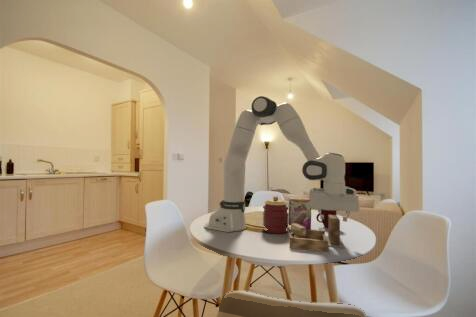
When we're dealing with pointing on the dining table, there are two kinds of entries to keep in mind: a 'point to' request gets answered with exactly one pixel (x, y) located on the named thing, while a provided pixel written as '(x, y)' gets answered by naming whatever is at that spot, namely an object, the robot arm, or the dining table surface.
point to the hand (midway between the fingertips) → (333, 220)
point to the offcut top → (298, 229)
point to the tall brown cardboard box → (334, 229)
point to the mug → (326, 216)
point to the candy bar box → (300, 212)
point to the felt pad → (335, 245)
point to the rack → (310, 241)
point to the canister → (275, 216)
